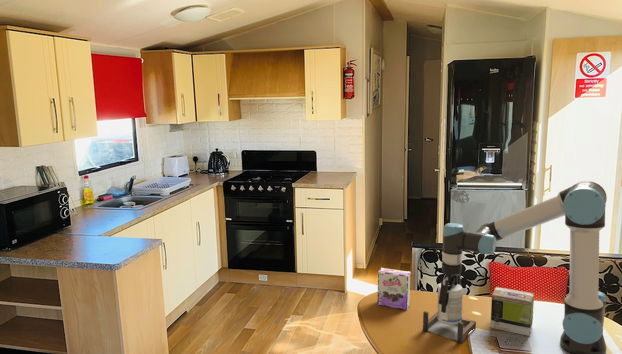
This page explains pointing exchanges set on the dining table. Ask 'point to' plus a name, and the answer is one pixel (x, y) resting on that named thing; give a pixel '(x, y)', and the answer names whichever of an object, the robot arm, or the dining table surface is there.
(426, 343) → the dining table surface
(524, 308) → the tea box
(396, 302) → the candy box
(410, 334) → the dining table surface
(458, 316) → the supplement tub
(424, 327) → the keeper cradle
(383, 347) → the dining table surface
